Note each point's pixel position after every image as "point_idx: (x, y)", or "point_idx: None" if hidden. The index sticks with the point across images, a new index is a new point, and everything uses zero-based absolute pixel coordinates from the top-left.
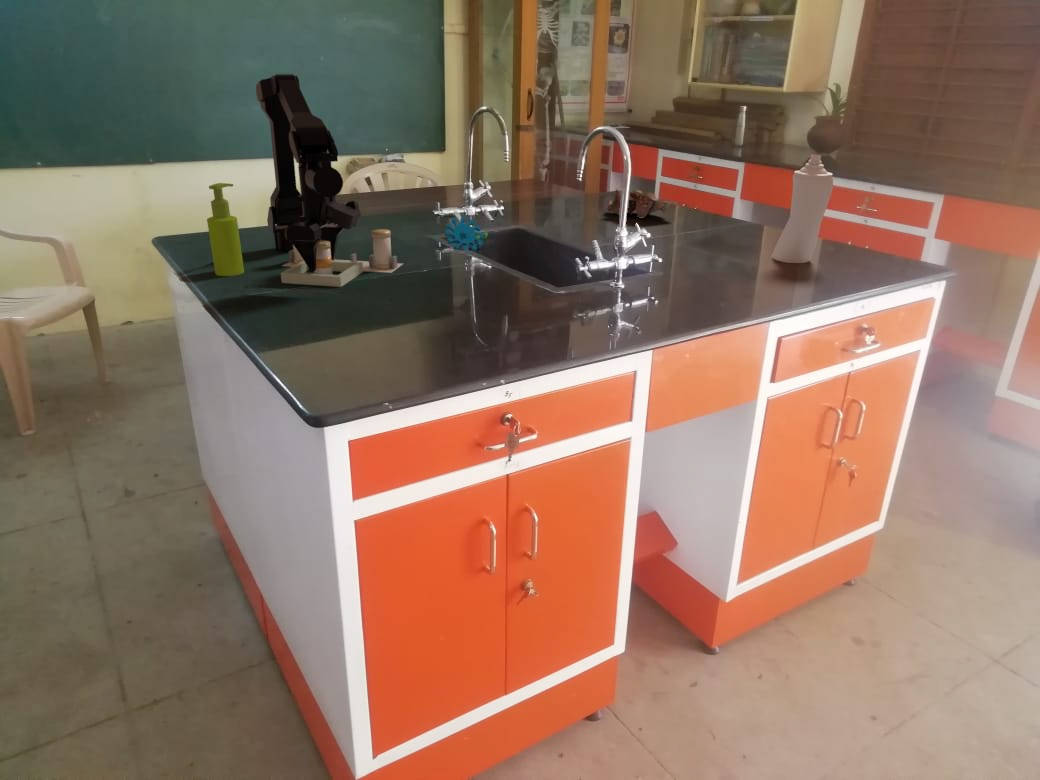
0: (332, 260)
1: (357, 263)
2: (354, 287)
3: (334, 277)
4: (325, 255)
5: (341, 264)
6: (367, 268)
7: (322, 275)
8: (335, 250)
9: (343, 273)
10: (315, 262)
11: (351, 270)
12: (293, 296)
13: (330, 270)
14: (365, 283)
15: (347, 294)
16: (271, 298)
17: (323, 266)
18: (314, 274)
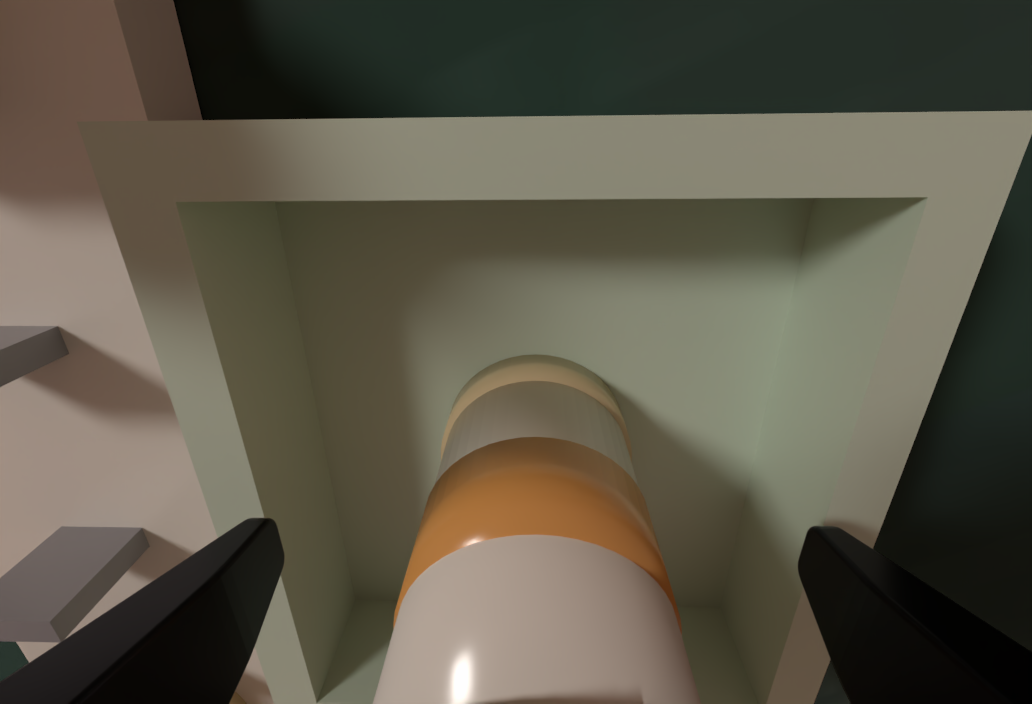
0: (85, 557)
1: (170, 180)
2: (598, 75)
3: (984, 216)
4: (647, 612)
5: (250, 403)
6: (23, 127)
7: (912, 397)
8: (141, 600)
9: (813, 149)
10: (932, 608)
11: (556, 116)
12: (921, 492)
13: (560, 417)
14: (408, 5)
15: (891, 35)
16: (960, 594)
17: (641, 505)
18: (858, 494)
